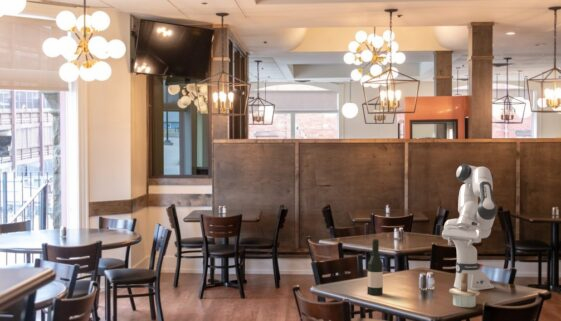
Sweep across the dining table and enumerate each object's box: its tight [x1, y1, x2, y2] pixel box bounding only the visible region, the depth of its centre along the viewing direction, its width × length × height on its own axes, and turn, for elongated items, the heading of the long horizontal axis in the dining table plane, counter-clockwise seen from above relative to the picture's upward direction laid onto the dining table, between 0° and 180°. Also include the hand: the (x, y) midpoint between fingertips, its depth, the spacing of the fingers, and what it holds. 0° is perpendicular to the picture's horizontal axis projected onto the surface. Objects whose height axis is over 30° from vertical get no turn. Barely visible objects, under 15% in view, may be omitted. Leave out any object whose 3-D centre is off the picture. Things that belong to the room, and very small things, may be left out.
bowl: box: [452, 294, 477, 308], centre depth 344 cm, size 11×11×6 cm
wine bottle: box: [366, 238, 384, 297], centre depth 368 cm, size 8×8×30 cm
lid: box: [448, 273, 481, 297], centre depth 344 cm, size 15×15×10 cm
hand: (458, 245), depth 356 cm, fingers open, 8 cm apart
